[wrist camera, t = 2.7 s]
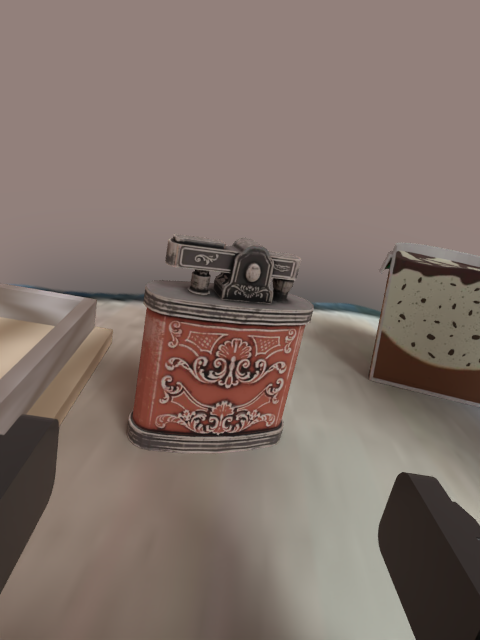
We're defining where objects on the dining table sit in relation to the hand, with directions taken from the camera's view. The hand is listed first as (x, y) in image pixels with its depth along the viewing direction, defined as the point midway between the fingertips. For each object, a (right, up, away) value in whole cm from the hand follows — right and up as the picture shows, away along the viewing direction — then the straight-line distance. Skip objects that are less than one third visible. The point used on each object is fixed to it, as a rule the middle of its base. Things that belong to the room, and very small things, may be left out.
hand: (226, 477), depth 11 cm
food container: (+15, -1, +26) cm, 30 cm away
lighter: (-1, -2, +13) cm, 13 cm away
